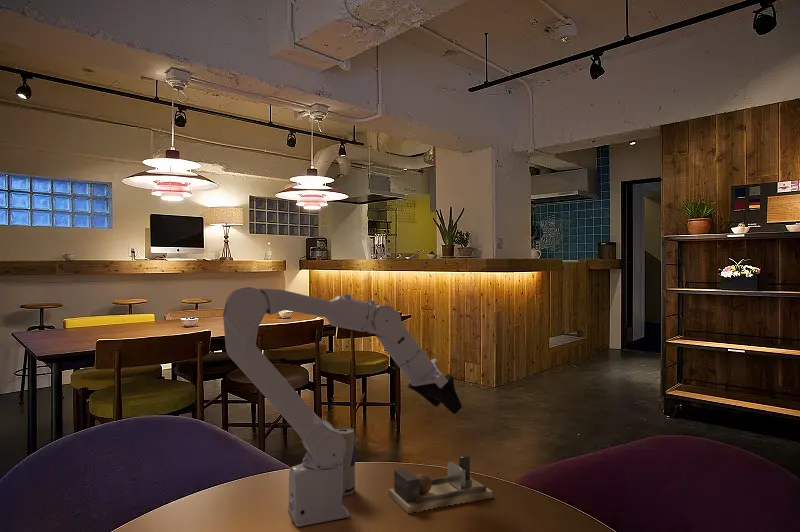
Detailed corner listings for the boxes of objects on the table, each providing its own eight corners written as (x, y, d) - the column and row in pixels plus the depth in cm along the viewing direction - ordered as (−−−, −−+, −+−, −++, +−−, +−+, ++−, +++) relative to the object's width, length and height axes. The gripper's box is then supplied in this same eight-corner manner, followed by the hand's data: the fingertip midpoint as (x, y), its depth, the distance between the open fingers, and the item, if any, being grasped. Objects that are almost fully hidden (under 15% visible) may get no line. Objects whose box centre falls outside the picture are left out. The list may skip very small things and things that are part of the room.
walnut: (418, 498, 92) (418, 478, 92) (410, 491, 95) (410, 472, 95) (435, 495, 93) (435, 475, 94) (426, 488, 97) (426, 469, 97)
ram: (460, 490, 95) (460, 462, 95) (447, 481, 99) (447, 454, 100) (476, 488, 96) (476, 459, 96) (462, 478, 101) (462, 452, 101)
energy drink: (357, 487, 100) (357, 427, 101) (352, 497, 95) (352, 434, 96) (331, 486, 101) (332, 426, 102) (324, 496, 96) (325, 433, 96)
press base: (408, 513, 88) (408, 484, 88) (388, 495, 96) (389, 468, 97) (492, 497, 95) (492, 470, 96) (467, 481, 103) (467, 456, 104)
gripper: (439, 344, 91) (480, 398, 93) (407, 340, 104) (444, 387, 107) (413, 370, 88) (456, 425, 91) (384, 362, 102) (422, 410, 104)
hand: (448, 406), depth 99 cm, fingers open, 7 cm apart
